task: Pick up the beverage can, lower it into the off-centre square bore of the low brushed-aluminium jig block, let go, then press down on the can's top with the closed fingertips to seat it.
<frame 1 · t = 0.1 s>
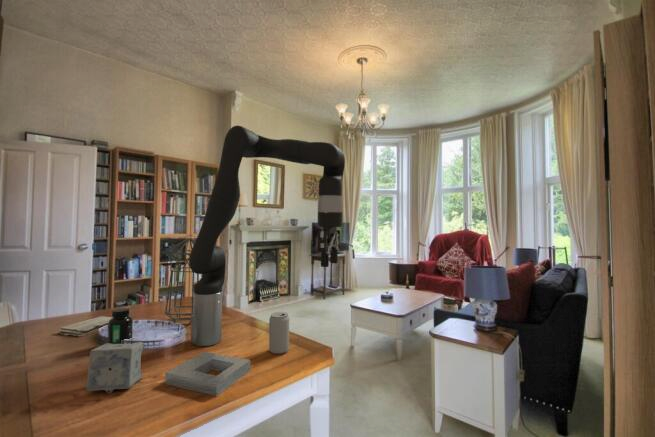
hand: (329, 265, 95), 29 cm above the table, tool pointing down, fingers open, 8 cm apart
supplement bottle: (120, 346, 106), on the table
geometric lantern: (188, 321, 132), on the table
beverage can: (279, 351, 102), on the table
jig: (209, 377, 85), on the table
washcloth: (92, 329, 122), on the table
incense holder: (116, 386, 80), on the table
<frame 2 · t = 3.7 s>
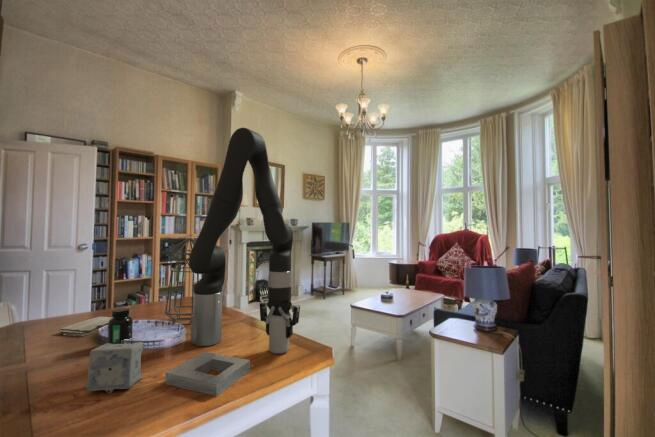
hand: (279, 335, 102), 5 cm above the table, tool pointing down, fingers closed on beverage can, 6 cm apart
beverage can: (278, 351, 102), on the table, touching gripper
everything else where it was.
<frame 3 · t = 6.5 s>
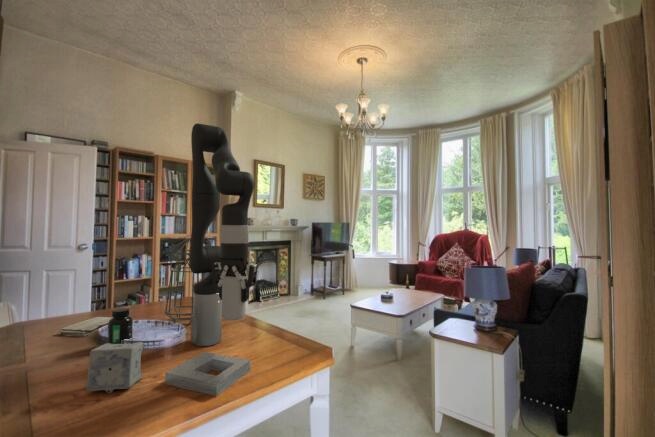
hand: (233, 300, 89), 20 cm above the table, tool pointing down, fingers closed on beverage can, 6 cm apart
beverage can: (233, 318, 89), point 15 cm above the table, touching gripper
everything else where it was.
when the fingers open (6 cm above the table, at t = 9.4 s): beverage can drops 1 cm, resting in jig.
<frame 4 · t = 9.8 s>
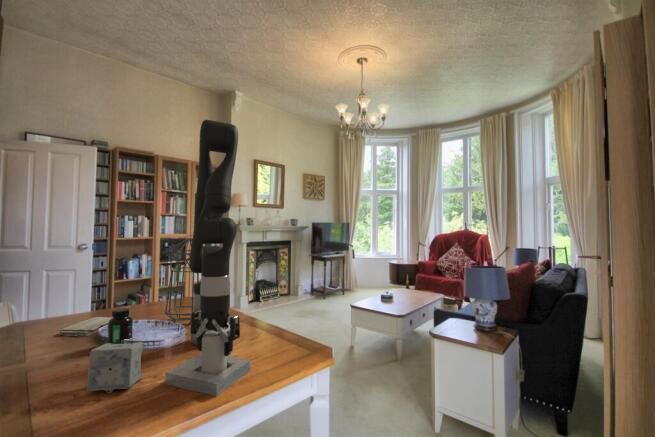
hand: (214, 352, 84), 7 cm above the table, tool pointing down, fingers open, 8 cm apart
beverage can: (214, 378, 84), resting in jig
everything else where it was.
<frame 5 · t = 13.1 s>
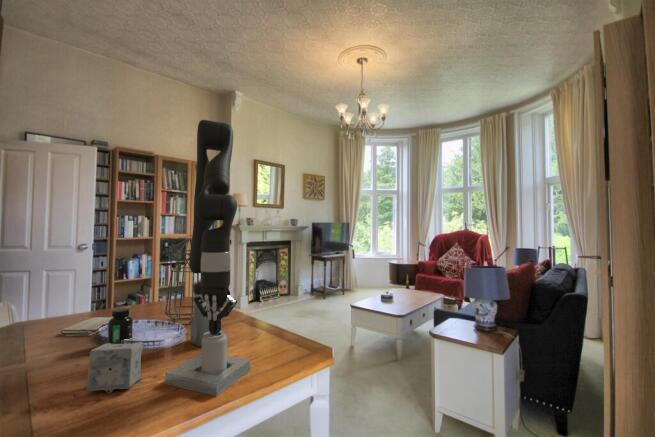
hand: (215, 333, 84), 12 cm above the table, tool pointing down, fingers closed
beverage can: (214, 378, 84), resting in jig, touching gripper
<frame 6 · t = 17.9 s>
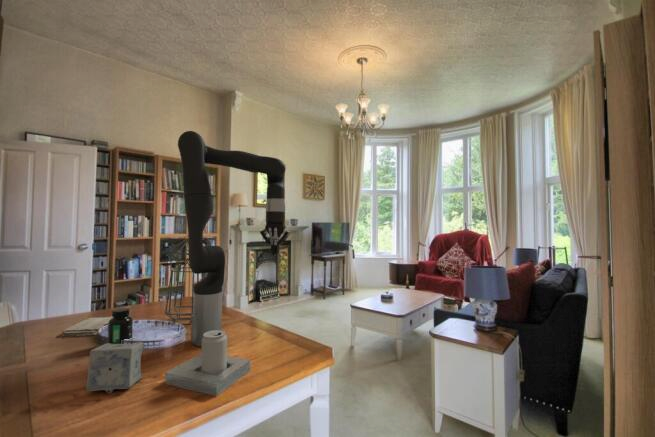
hand: (275, 254, 124), 29 cm above the table, tool pointing down, fingers closed
beverage can: (214, 378, 84), resting in jig
at the end: beverage can 0.1 cm from the target spot on the jig, point 0.0 cm above the jig's base; beverage can tilted 0°; the gripper is holding nothing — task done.
